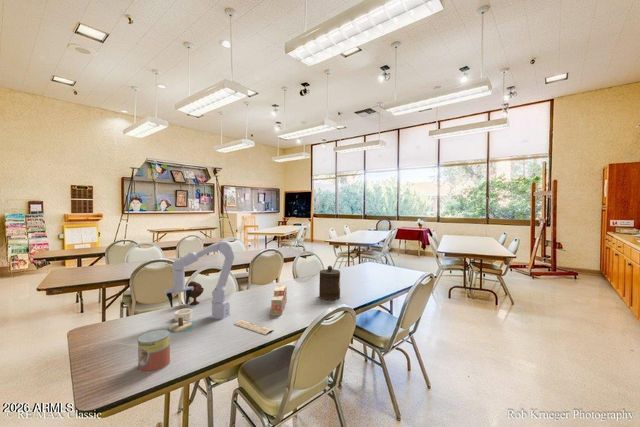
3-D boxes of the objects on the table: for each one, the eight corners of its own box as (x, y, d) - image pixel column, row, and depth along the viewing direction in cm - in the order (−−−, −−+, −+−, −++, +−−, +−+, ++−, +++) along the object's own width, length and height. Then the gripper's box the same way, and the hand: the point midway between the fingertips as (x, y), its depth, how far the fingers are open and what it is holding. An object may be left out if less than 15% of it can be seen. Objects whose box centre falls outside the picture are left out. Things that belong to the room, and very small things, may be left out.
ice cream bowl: (197, 307, 182) (197, 283, 182) (182, 305, 184) (181, 282, 184) (207, 301, 192) (206, 279, 192) (192, 300, 195) (192, 278, 194)
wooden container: (344, 297, 201) (344, 266, 200) (327, 301, 193) (327, 269, 192) (331, 292, 213) (331, 263, 213) (315, 295, 205) (315, 265, 204)
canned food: (131, 369, 113) (130, 339, 112) (156, 355, 123) (156, 328, 123) (152, 375, 109) (151, 344, 108) (176, 360, 119) (176, 332, 119)
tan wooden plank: (233, 326, 155) (233, 322, 155) (243, 321, 161) (243, 318, 161) (265, 336, 142) (265, 333, 142) (275, 331, 148) (275, 328, 148)
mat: (194, 322, 158) (194, 321, 158) (191, 331, 146) (191, 330, 146) (170, 325, 154) (170, 324, 154) (165, 334, 143) (165, 333, 143)
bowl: (195, 316, 166) (195, 309, 166) (185, 323, 157) (185, 315, 157) (182, 315, 168) (182, 308, 168) (171, 321, 159) (171, 313, 159)
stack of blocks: (281, 315, 168) (281, 295, 168) (271, 315, 168) (270, 294, 168) (286, 303, 189) (286, 284, 189) (277, 303, 189) (277, 284, 189)
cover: (196, 324, 154) (196, 315, 154) (182, 332, 144) (182, 323, 143) (179, 322, 157) (179, 313, 157) (164, 330, 146) (163, 321, 146)
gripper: (191, 277, 165) (191, 300, 165) (163, 281, 157) (163, 305, 157) (194, 280, 159) (194, 304, 160) (164, 284, 151) (165, 309, 151)
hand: (179, 305), depth 158 cm, fingers open, 7 cm apart
